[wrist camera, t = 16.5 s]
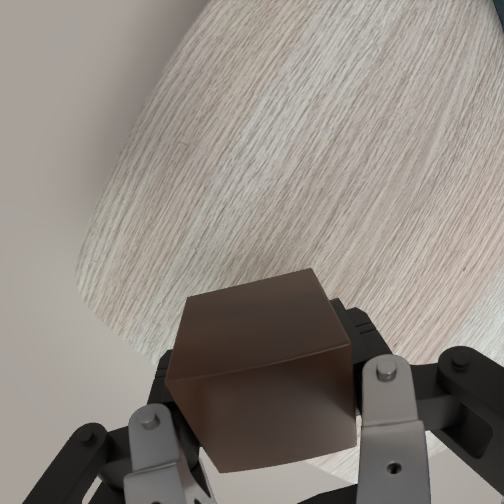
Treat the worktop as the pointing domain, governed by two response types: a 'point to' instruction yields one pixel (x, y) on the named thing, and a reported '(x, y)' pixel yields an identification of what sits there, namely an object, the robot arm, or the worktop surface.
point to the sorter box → (500, 9)
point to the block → (264, 373)
